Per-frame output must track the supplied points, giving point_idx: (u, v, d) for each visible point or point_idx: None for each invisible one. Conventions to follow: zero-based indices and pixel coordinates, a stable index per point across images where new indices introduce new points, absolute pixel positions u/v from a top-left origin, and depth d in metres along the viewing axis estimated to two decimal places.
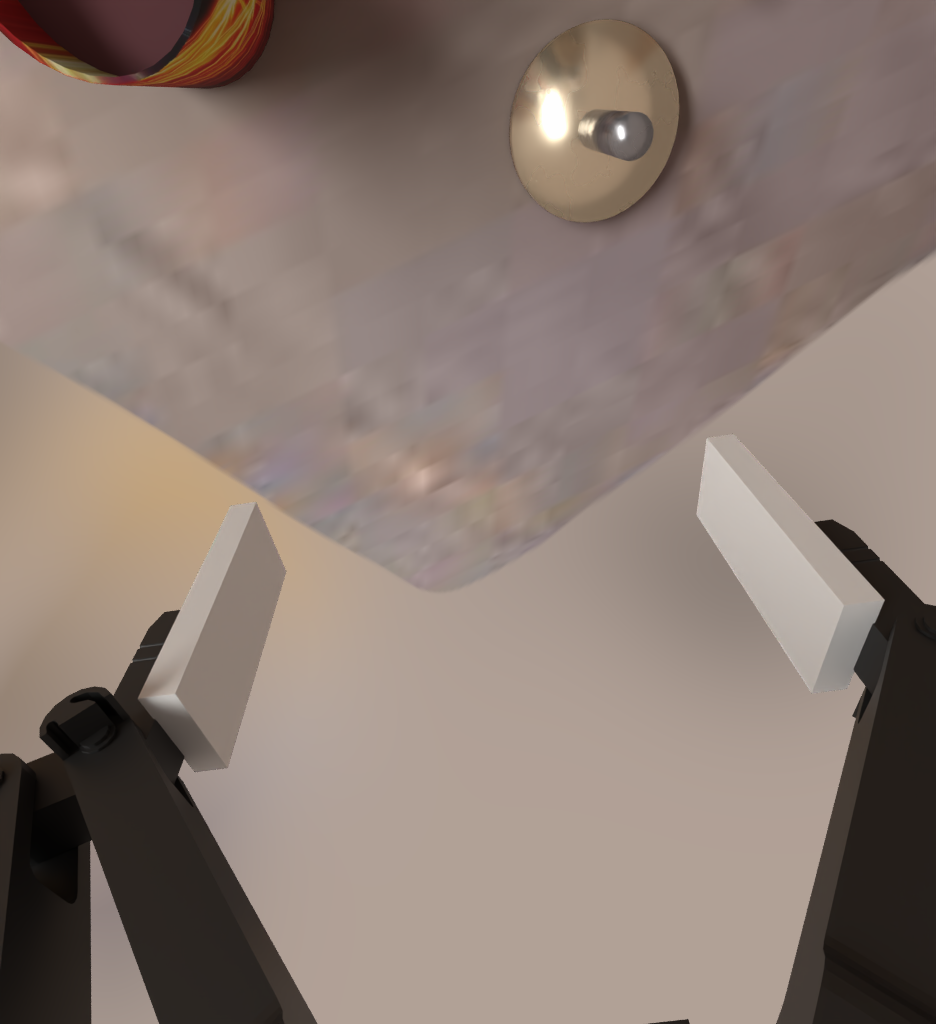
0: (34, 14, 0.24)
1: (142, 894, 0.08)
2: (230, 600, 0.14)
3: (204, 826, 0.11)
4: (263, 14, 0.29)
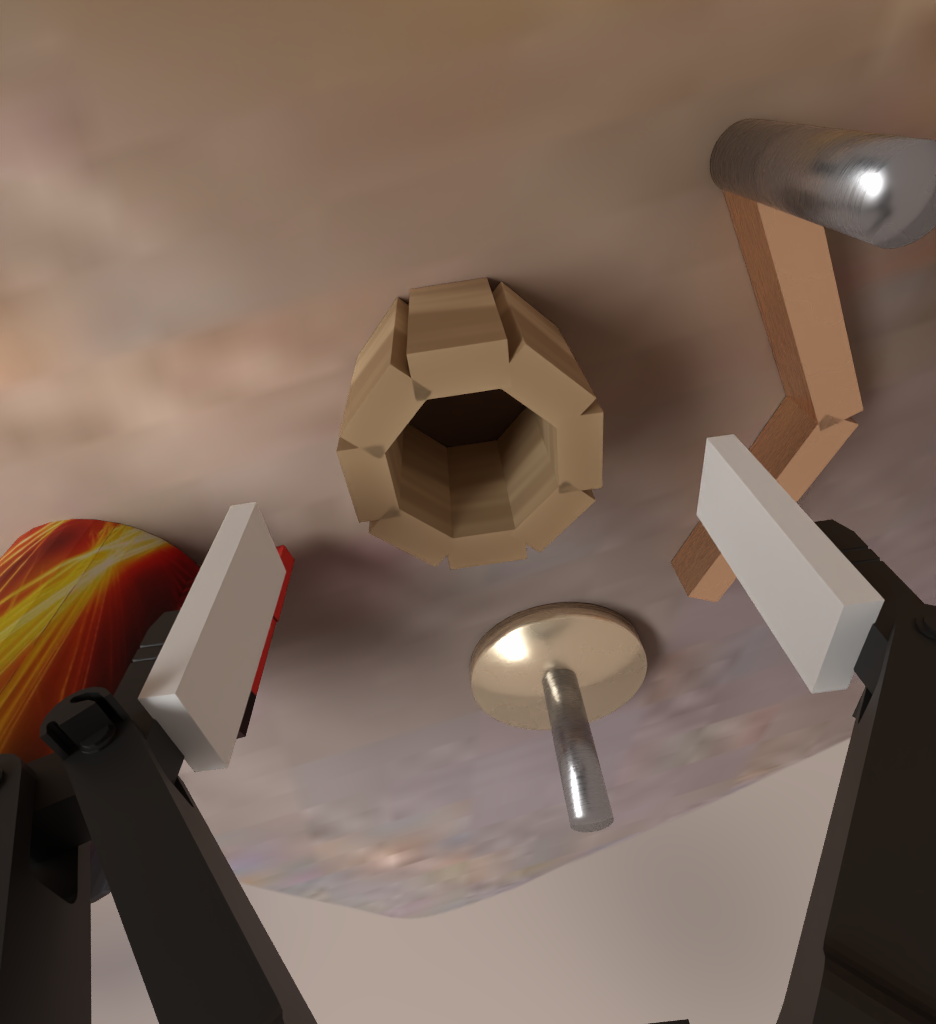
0: None
1: (142, 894, 0.08)
2: (231, 600, 0.14)
3: (204, 826, 0.11)
4: None
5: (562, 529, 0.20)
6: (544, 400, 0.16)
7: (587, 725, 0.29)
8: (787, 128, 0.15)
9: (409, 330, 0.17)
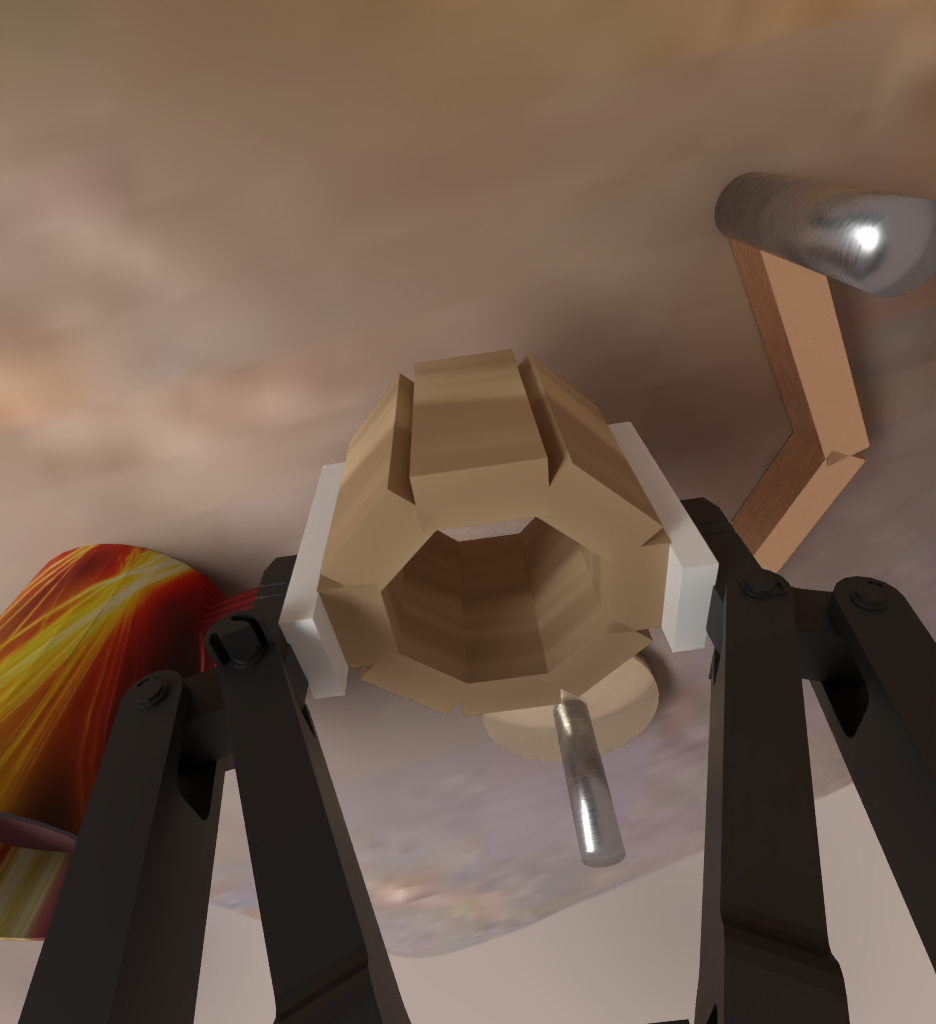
0: None
1: (264, 807, 0.09)
2: None
3: (322, 757, 0.12)
4: None
5: (608, 672, 0.15)
6: (594, 529, 0.12)
7: (598, 757, 0.29)
8: (787, 183, 0.16)
9: (414, 433, 0.13)
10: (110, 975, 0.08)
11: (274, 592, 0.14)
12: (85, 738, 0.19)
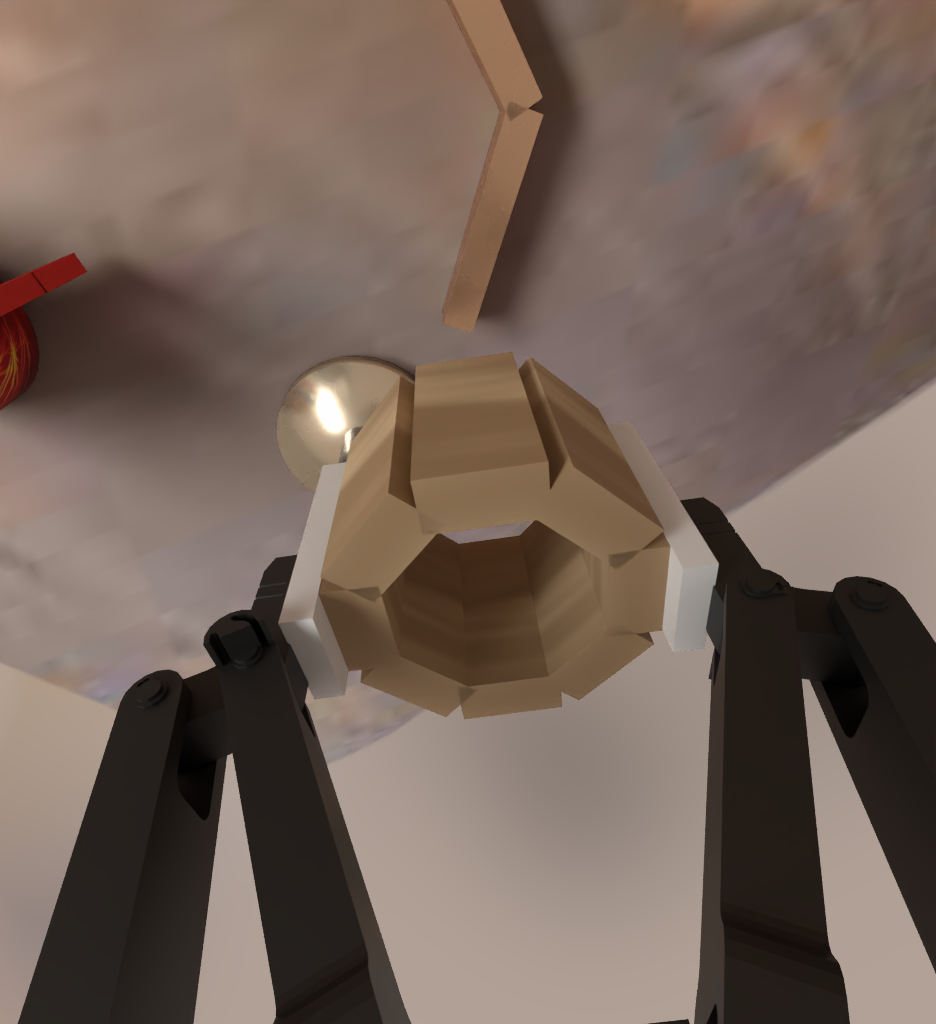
0: None
1: (264, 807, 0.09)
2: None
3: (321, 757, 0.12)
4: (15, 371, 0.30)
5: (609, 675, 0.15)
6: (594, 533, 0.12)
7: None
8: None
9: (414, 436, 0.13)
10: (110, 975, 0.08)
11: (274, 592, 0.14)
12: None
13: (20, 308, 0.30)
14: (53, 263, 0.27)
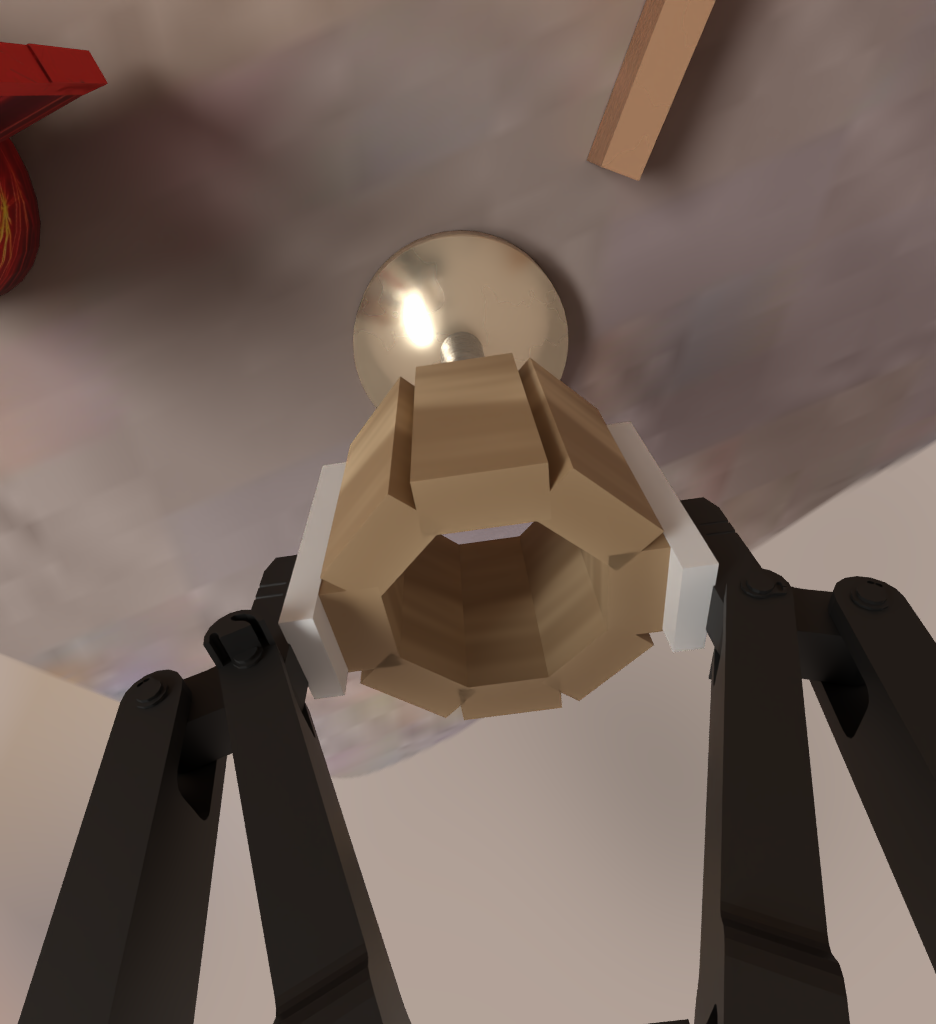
0: None
1: (264, 807, 0.09)
2: None
3: (322, 758, 0.12)
4: (7, 237, 0.22)
5: (609, 676, 0.15)
6: (594, 534, 0.12)
7: None
8: None
9: (414, 437, 0.13)
10: (110, 975, 0.08)
11: (274, 592, 0.14)
12: None
13: (13, 150, 0.22)
14: (60, 49, 0.18)
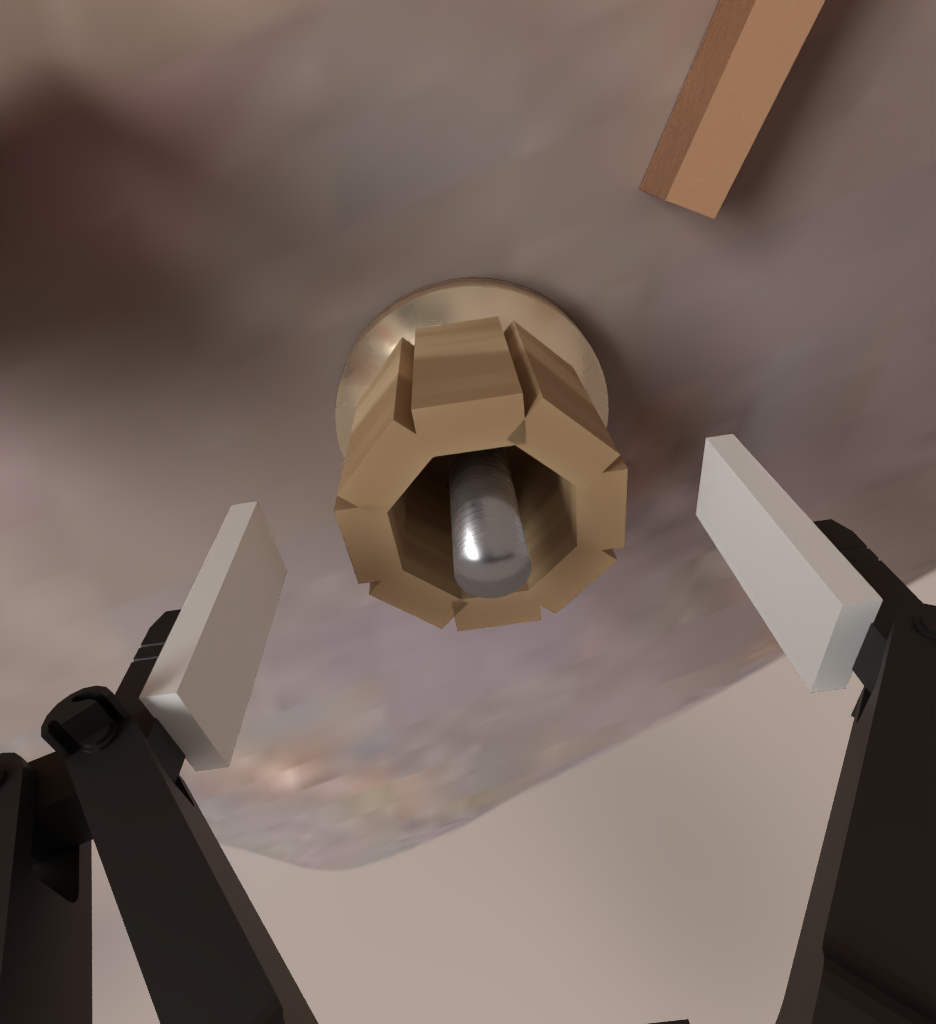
0: None
1: (143, 893, 0.08)
2: (231, 599, 0.14)
3: (205, 825, 0.11)
4: None
5: (580, 590, 0.18)
6: (563, 457, 0.15)
7: (504, 459, 0.18)
8: None
9: (414, 379, 0.15)
10: None
11: (154, 653, 0.13)
12: None
13: None
14: None
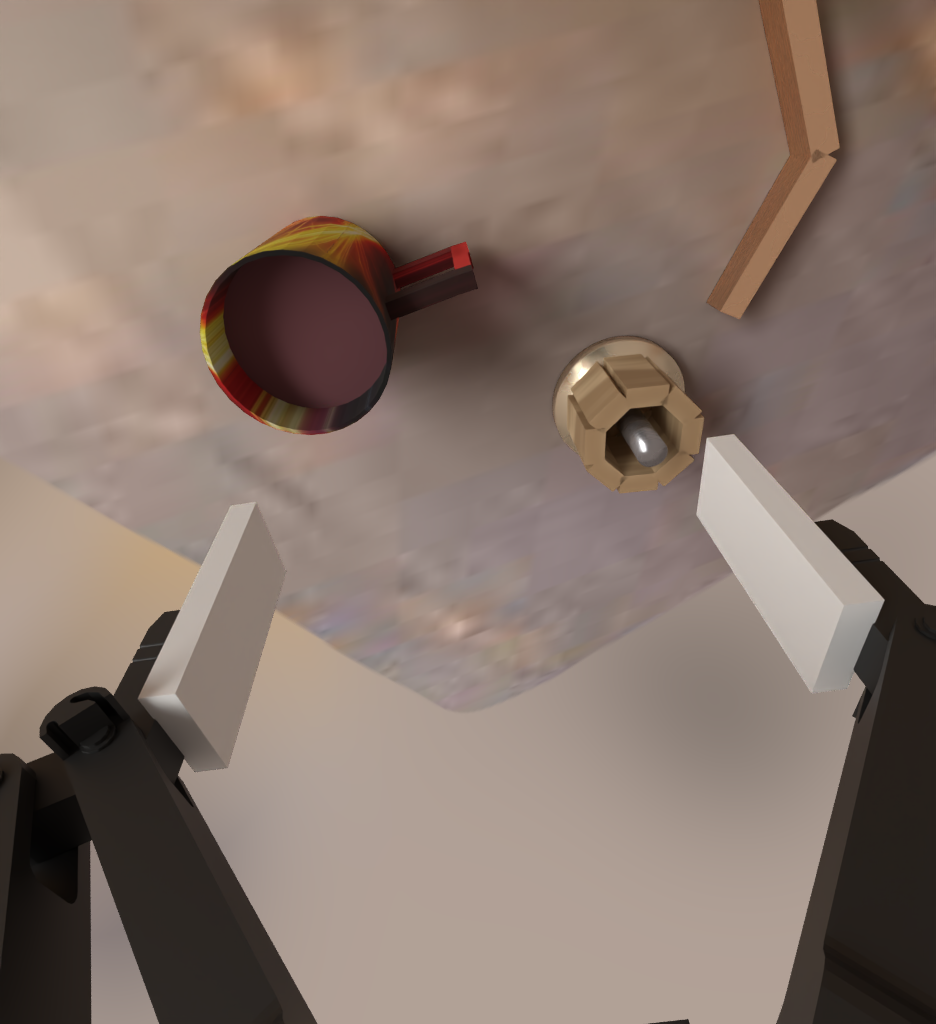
0: (248, 372, 0.33)
1: (142, 894, 0.08)
2: (231, 600, 0.14)
3: (204, 826, 0.11)
4: None
5: (676, 474, 0.41)
6: (679, 411, 0.38)
7: (644, 416, 0.41)
8: None
9: (620, 378, 0.38)
10: None
11: (153, 654, 0.13)
12: (363, 268, 0.30)
13: None
14: (467, 248, 0.35)
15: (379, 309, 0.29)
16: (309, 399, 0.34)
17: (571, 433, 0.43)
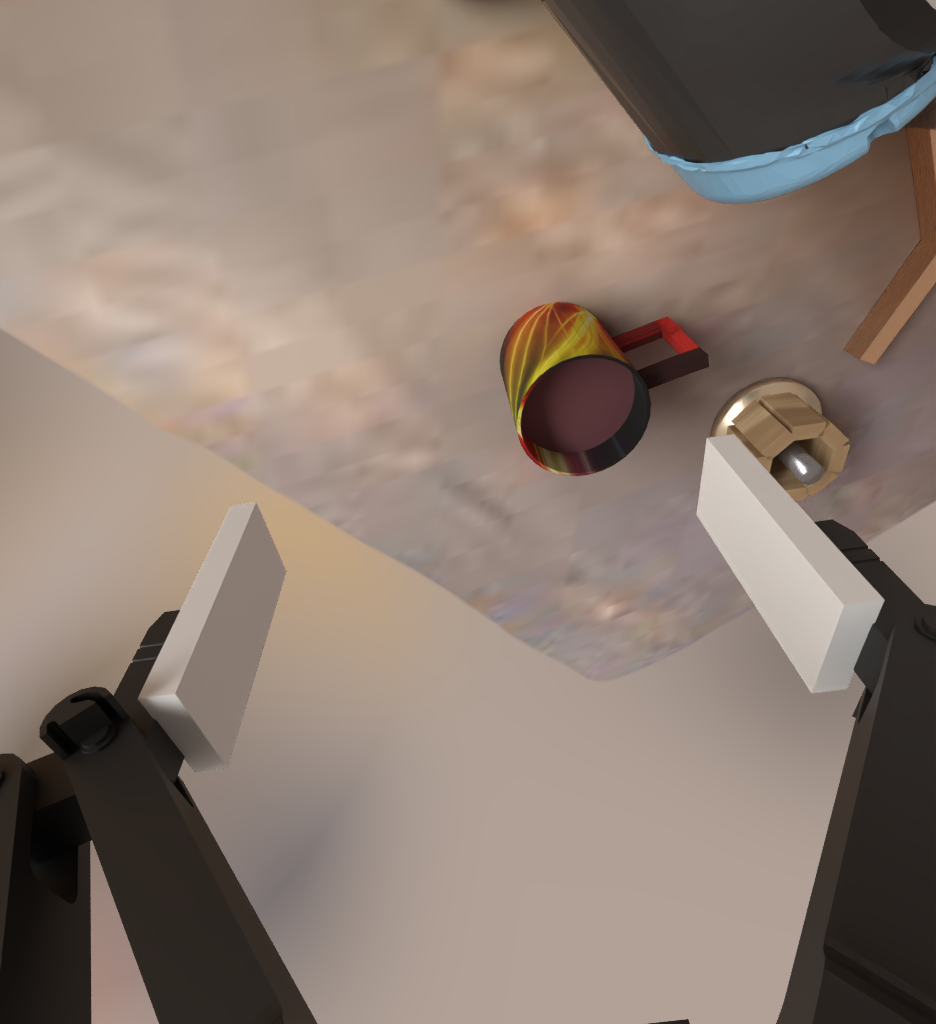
0: (525, 430, 0.45)
1: (142, 894, 0.08)
2: (231, 600, 0.14)
3: (204, 826, 0.11)
4: None
5: (822, 487, 0.52)
6: (832, 440, 0.49)
7: (795, 442, 0.52)
8: None
9: (783, 416, 0.49)
10: None
11: (153, 654, 0.13)
12: (625, 356, 0.41)
13: None
14: (676, 324, 0.46)
15: (646, 389, 0.40)
16: (564, 447, 0.46)
17: None
